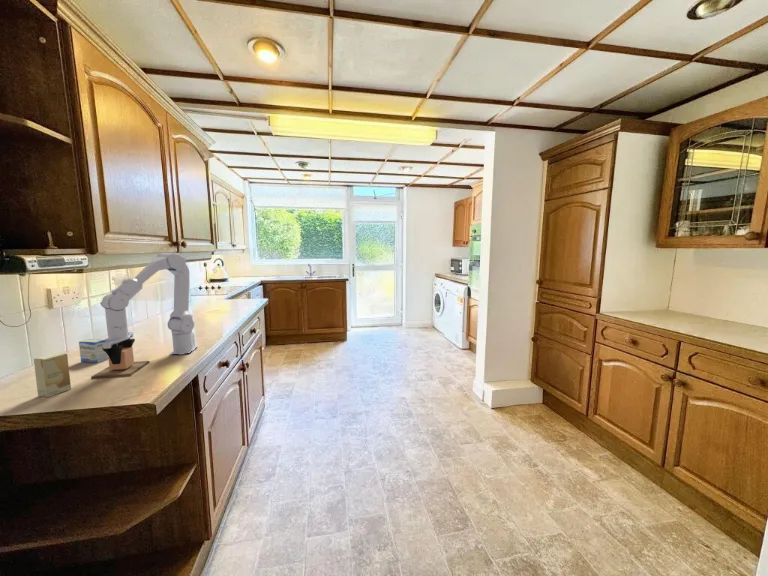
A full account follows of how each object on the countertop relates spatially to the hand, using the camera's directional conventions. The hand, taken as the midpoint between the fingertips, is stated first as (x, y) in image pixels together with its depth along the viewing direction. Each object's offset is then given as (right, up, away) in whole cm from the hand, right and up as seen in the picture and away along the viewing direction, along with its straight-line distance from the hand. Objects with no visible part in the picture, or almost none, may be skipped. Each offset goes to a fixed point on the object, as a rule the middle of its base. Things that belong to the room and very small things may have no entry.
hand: (121, 361), depth 115 cm
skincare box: (-6, -6, -17) cm, 19 cm away
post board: (0, -4, 0) cm, 4 cm away
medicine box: (-20, -3, +10) cm, 22 cm away
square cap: (0, -2, 0) cm, 2 cm away
